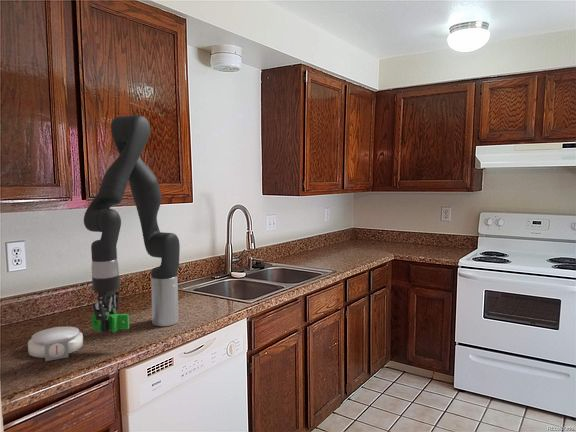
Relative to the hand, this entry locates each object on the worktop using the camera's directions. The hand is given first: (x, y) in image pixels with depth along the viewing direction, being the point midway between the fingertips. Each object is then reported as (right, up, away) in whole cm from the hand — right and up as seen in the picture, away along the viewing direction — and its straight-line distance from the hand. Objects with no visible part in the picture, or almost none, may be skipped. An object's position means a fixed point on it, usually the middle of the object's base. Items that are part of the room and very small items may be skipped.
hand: (108, 328), depth 131 cm
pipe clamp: (0, -1, 0) cm, 1 cm away
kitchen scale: (-17, -7, +1) cm, 18 cm away
